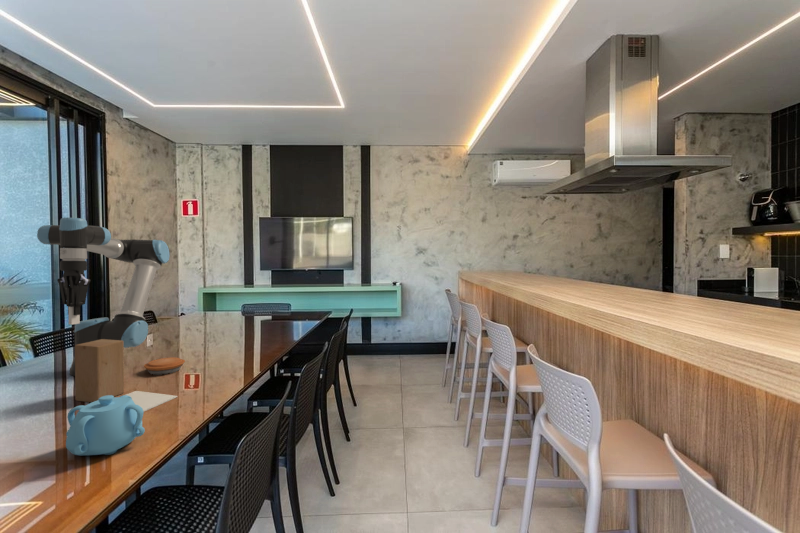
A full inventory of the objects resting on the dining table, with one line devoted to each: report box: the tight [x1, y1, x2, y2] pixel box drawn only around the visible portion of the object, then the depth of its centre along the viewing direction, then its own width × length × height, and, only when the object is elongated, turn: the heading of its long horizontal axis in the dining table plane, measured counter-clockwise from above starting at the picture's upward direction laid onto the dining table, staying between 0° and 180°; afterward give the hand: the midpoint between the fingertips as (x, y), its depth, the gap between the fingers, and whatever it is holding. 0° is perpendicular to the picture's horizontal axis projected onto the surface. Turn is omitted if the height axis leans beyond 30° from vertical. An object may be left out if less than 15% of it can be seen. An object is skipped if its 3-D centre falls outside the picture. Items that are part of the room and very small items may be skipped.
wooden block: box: [74, 339, 125, 403], centre depth 134 cm, size 10×10×20 cm
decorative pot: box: [65, 394, 146, 456], centre depth 100 cm, size 16×16×14 cm
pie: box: [143, 356, 186, 376], centre depth 165 cm, size 15×16×5 cm
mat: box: [125, 390, 178, 413], centre depth 130 cm, size 15×19×1 cm
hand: (74, 323), depth 136 cm, fingers closed
